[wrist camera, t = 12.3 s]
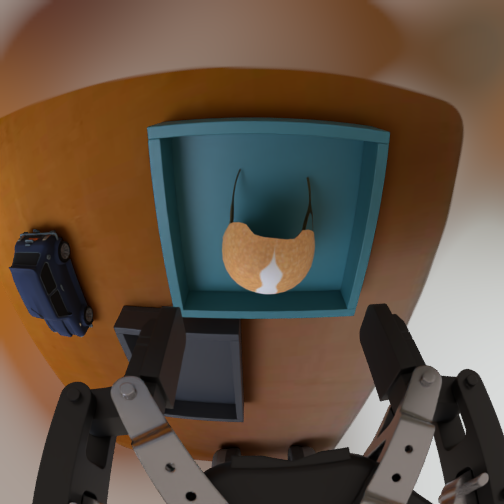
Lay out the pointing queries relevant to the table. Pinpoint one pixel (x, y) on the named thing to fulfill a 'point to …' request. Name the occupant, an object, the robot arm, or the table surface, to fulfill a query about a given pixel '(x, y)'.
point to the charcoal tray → (198, 364)
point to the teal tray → (266, 208)
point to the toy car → (50, 283)
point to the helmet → (267, 256)
